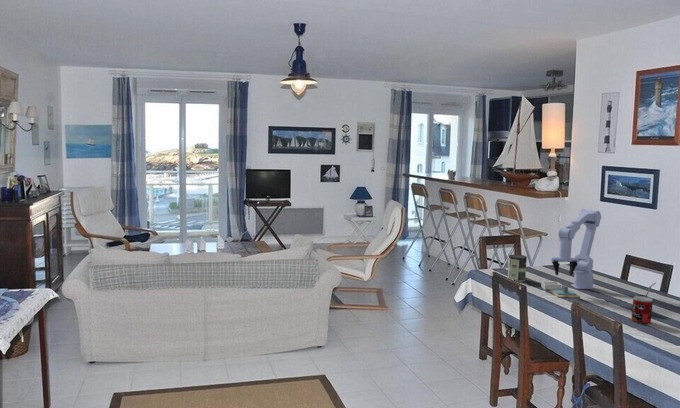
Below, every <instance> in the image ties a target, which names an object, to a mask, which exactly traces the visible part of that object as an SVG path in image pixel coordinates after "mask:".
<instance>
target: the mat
mask: <svg viewBox="0 0 680 408" xmlns="http://www.w3.org/2000/svg"><path fill="white" fill-rule="evenodd" d="M549 293H551V294H553V295H554V296H555V297H556V296H557V297H556V298H565V299H566V298H568V299H569V298H572V299H580V298H581V296H580V295H578V294H577V293H576V295H557V294H556V293H555V292H554V291H553V290H549Z"/></svg>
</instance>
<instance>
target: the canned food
mask: <svg viewBox="0 0 680 408" xmlns="http://www.w3.org/2000/svg"><path fill="white" fill-rule="evenodd" d="M648 297H649V296H648ZM648 297H643V296H636V295H635V296H633V299H632V309H631V321H632V322H633V321H634V322H633V323H636V322H637V324H640V323H645V324H644V325H649V324H651V322H652V313H653V305H654V301H653V298H651V297H649V298H648ZM648 323H649V324H648Z"/></svg>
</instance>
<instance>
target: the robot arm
mask: <svg viewBox="0 0 680 408" xmlns="http://www.w3.org/2000/svg"><path fill="white" fill-rule="evenodd" d="M601 219H602V215H601V211H599V210H592V209H584V208H583V209H581V210H580V211H579V216H578V217H577V218H576V219H575V220H572V221H570V222H569V223H568V224H567V225H566V226H564V227H561V228H560V229H559V231H558V237H559V238H558V239H559V244H560V245H559V256H557V257H550V262H551V264H552V266H553V268H554V274H555V275H556V276H559V269H560V263H569V275H570V276H573V275H574V278H573V283H572V284H570V285H571V286H572V287H573V288H574V289H577V290H581V289H582V290H593V289H594V288H593V285H594V274H593V272H592V270H593V268H594V267H593V266H594V264H593V263H594V260H593V258H592V257H591V256H590V255H591V251H592V246H593V242H594V238H595V234H596V231H597V227H599V226H600V223H601ZM582 225H583V226H585V227H586V228H585V230H584V231H585V232H584V236H583V239H582V243H581V248H580V251H579V254H577V255H575V256H574V257H572V247H573V243H572V242H573V240H574V238H575V236H576V233H577V232H578V231H580V229H581V226H582Z"/></svg>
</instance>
